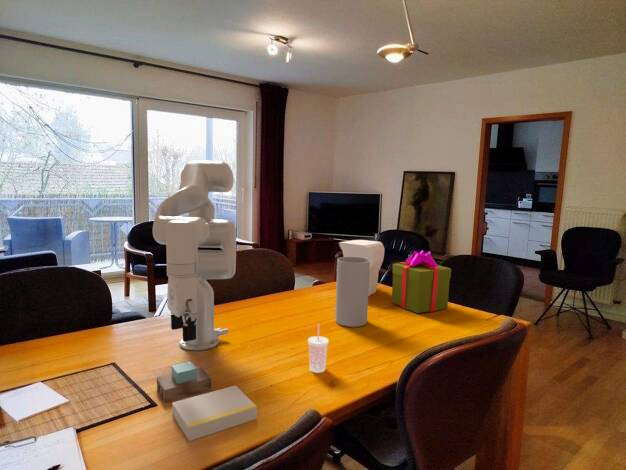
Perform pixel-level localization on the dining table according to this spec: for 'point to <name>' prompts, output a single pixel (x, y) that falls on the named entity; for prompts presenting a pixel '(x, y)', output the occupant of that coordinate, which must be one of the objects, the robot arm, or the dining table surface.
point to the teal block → (184, 372)
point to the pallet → (183, 386)
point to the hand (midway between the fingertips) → (183, 334)
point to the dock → (213, 412)
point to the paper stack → (368, 251)
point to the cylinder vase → (352, 291)
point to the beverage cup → (317, 352)
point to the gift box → (420, 284)
